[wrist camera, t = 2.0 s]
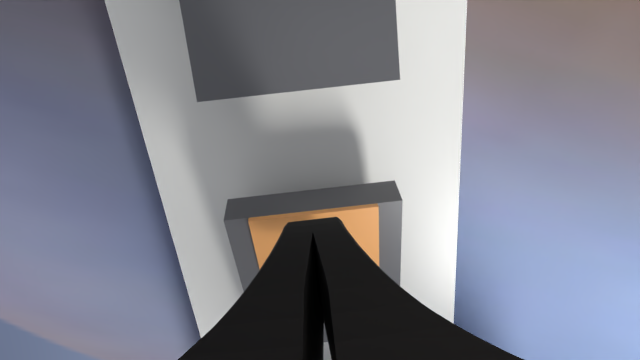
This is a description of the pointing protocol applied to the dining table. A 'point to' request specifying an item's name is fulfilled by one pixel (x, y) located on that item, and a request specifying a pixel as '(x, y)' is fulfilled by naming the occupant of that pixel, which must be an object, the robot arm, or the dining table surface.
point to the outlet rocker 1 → (288, 45)
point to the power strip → (302, 145)
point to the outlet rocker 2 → (343, 202)
